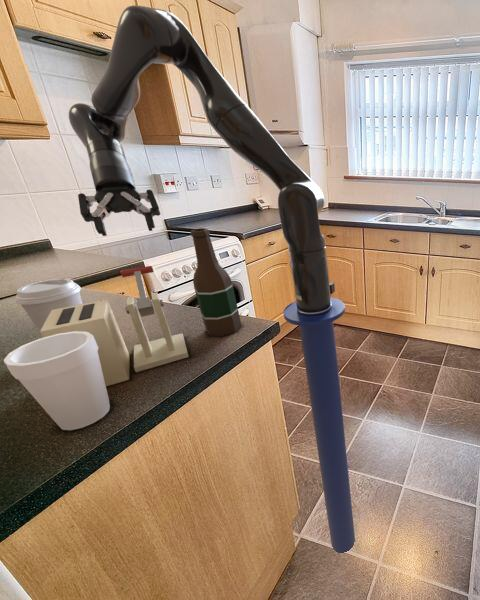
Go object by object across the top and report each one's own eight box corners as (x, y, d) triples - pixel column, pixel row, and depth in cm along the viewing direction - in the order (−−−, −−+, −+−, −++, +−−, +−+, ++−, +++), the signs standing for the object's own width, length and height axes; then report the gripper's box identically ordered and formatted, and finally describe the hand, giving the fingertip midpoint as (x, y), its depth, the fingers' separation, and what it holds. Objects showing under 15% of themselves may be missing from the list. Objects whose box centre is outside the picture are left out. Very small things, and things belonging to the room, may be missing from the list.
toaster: (79, 369, 66) (50, 309, 61) (129, 355, 70) (107, 298, 65) (72, 396, 59) (39, 330, 53) (129, 379, 63) (103, 317, 58)
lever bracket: (135, 350, 72) (114, 295, 67) (183, 337, 77) (167, 285, 72) (135, 372, 65) (112, 313, 60) (188, 357, 70) (171, 301, 65)
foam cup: (116, 389, 60) (88, 325, 55) (127, 414, 55) (97, 345, 49) (43, 416, 54) (4, 348, 49) (46, 448, 48) (2, 374, 43)
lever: (122, 275, 72) (119, 267, 70) (153, 270, 75) (150, 262, 73) (131, 319, 65) (127, 311, 64) (164, 311, 68) (161, 303, 67)
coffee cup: (112, 344, 75) (86, 281, 69) (57, 366, 67) (22, 297, 61) (91, 334, 79) (64, 274, 73) (36, 354, 71) (2, 289, 65)
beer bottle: (227, 319, 86) (204, 224, 76) (248, 325, 82) (227, 227, 73) (198, 332, 79) (169, 231, 69) (221, 340, 76) (194, 235, 66)
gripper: (66, 164, 74) (80, 225, 70) (145, 163, 81) (162, 217, 77) (79, 188, 80) (92, 245, 76) (151, 184, 87) (167, 236, 83)
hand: (127, 231), depth 77 cm, fingers open, 8 cm apart
